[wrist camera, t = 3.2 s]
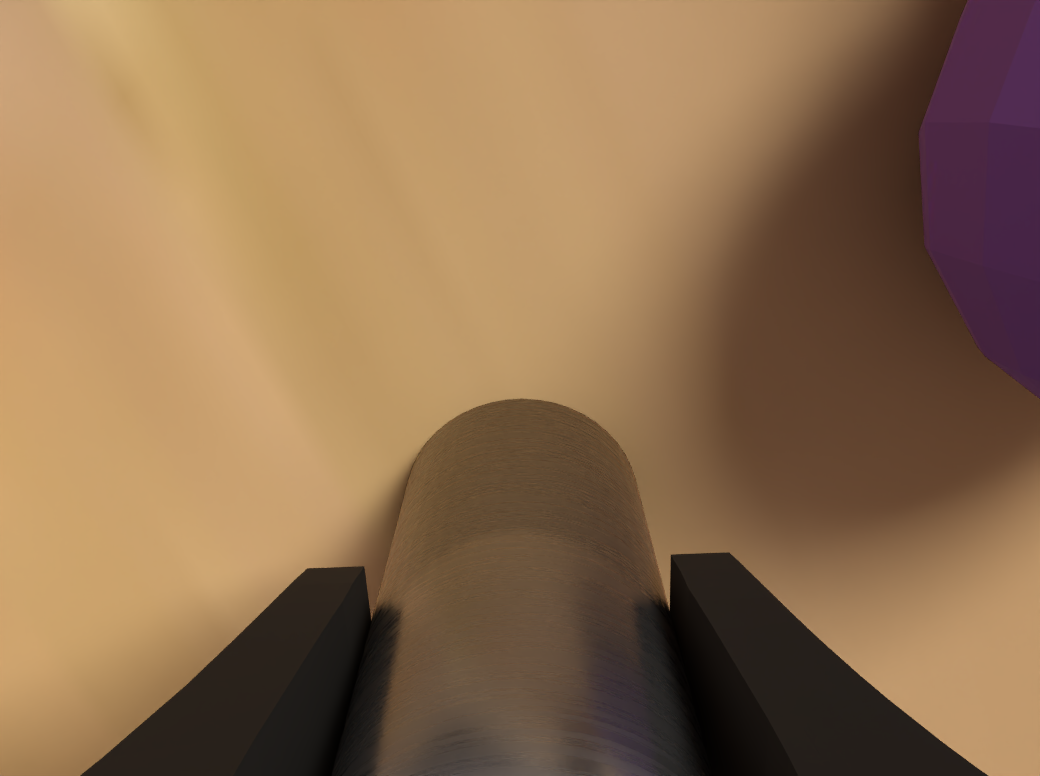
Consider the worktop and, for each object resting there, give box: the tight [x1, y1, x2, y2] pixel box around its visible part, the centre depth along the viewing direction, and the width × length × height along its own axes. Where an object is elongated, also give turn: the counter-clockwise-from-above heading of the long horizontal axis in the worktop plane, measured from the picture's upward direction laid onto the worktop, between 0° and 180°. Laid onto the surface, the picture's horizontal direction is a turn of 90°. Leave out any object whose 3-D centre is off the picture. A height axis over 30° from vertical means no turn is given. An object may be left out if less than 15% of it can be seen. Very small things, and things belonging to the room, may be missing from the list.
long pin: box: [331, 399, 712, 776], centre depth 8 cm, size 3×3×9 cm
